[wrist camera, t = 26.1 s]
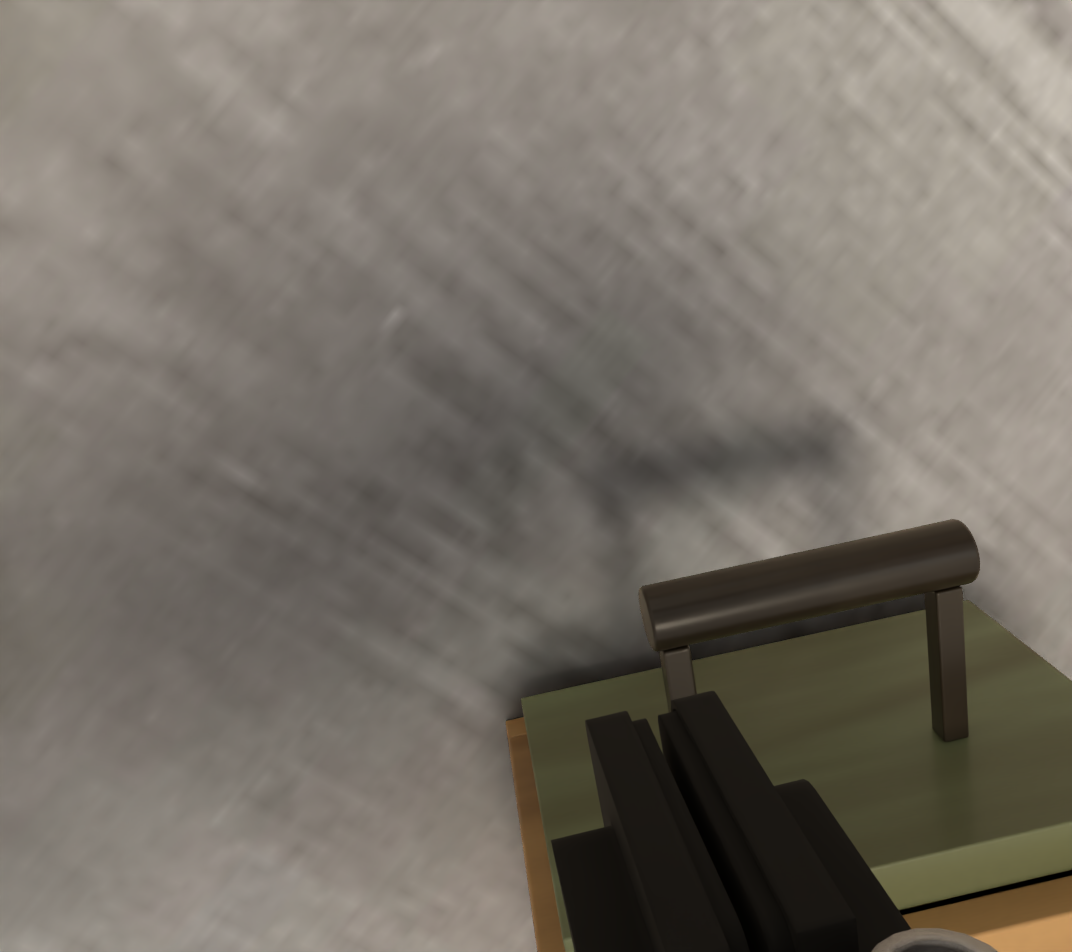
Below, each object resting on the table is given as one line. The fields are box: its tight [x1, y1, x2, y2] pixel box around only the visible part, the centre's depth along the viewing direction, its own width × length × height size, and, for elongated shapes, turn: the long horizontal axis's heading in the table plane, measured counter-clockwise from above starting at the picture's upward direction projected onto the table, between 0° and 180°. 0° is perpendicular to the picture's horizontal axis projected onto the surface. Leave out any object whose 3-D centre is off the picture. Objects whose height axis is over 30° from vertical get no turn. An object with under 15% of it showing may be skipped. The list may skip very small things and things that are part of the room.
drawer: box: [521, 519, 1072, 952], centre depth 24 cm, size 21×13×9 cm, turn 10°
